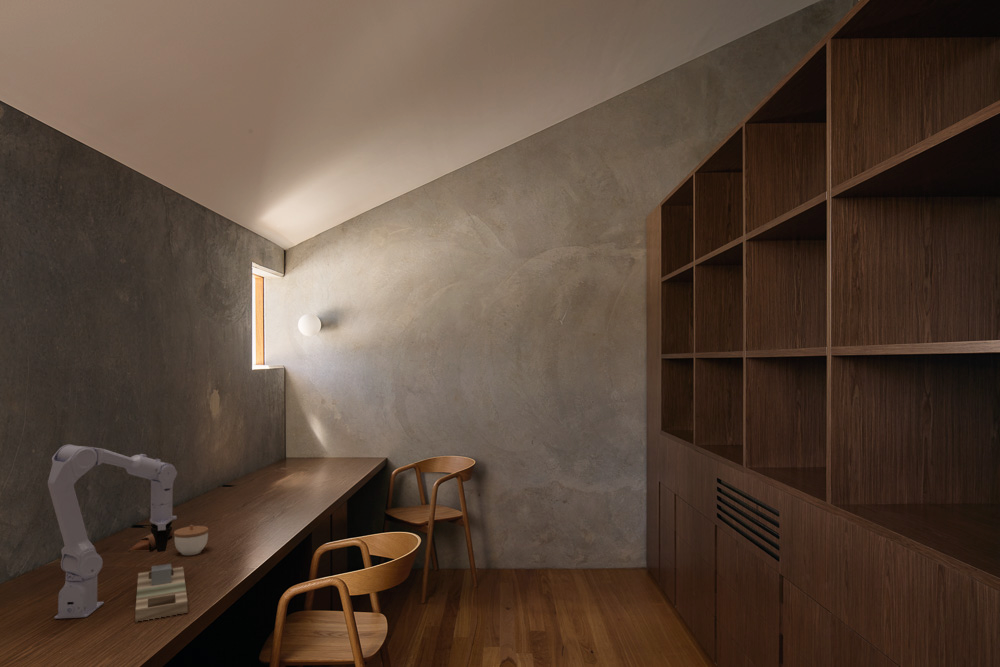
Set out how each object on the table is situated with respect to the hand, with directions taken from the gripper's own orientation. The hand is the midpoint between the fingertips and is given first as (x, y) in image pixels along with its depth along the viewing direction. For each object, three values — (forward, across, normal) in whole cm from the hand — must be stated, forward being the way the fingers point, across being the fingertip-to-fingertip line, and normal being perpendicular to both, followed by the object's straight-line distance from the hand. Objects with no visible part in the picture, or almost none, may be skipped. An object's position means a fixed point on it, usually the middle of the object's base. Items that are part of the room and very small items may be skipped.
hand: (161, 548), depth 193 cm
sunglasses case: (+11, +47, +3) cm, 48 cm away
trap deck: (+10, -12, 0) cm, 16 cm away
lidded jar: (+11, +29, -9) cm, 32 cm away
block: (+7, -7, 0) cm, 10 cm away
